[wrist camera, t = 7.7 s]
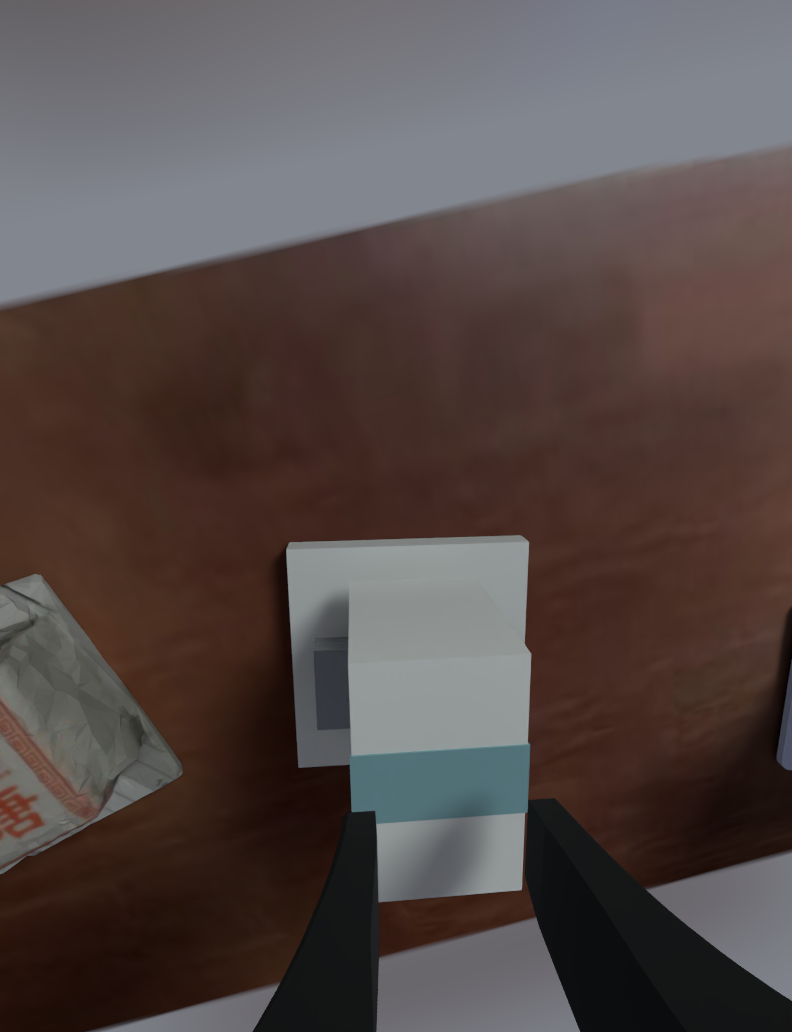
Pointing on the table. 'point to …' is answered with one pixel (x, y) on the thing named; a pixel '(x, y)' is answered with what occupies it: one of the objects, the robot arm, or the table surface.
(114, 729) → the packaged product
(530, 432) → the table surface
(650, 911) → the robot arm
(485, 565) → the base
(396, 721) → the block
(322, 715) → the dark grey flat block
